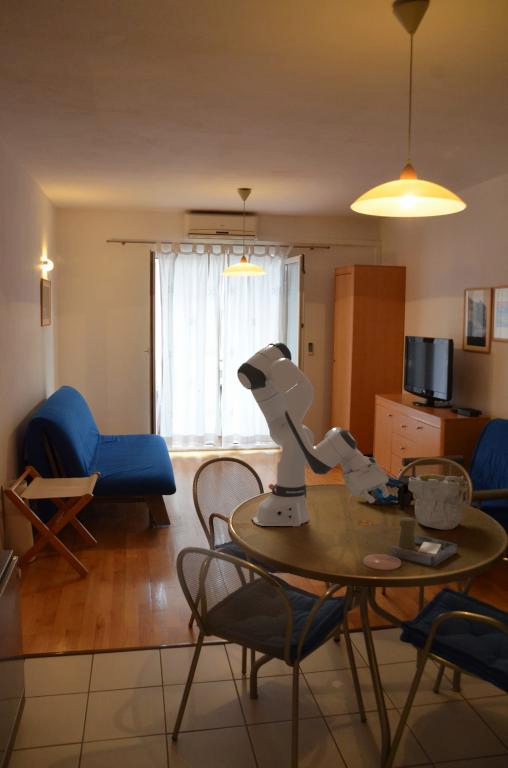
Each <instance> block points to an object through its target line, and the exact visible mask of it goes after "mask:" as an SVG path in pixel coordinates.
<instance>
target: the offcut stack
mask: <svg viewBox="0 0 508 768" xmlns="http://www.w3.org/2000/svg"><path fill="white" fill-rule="evenodd" d="M440 551H442V550H441V544H435V543H428V542H423V544H422V545H420V547H419V549H418V550H417V552H418V553H422V554H426V555H430V556H434V555H435V554H437V553H439V552H440Z"/></svg>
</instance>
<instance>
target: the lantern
mask: <svg viewBox="0 0 508 768" xmlns="http://www.w3.org/2000/svg"><path fill="white" fill-rule="evenodd" d="M387 477H388V480H389V481H388V482H387V483H386V484H385V485H386V488H388V487H389V488H390V489H394V488H398V490H397V492H396V493H397V495H395V494H394V495H393V494H392V493H389V496H388V497H386V498H384V496H383V495H382V490H380V489H379V487H378V488H376V489H373V490H370V491H368V494H369V495H370V496H373V497H374V499H375V501H374V502H373V503H369V505H370V506H374V505H375V506H382V508H385V506H388V505H390V506H395V505H399V507H400V508H401V510H404V509H405V508H407V507H409V506H411V504H412V502H413V501H415V498H414V493H413V492H411V491H410V490H409V489H408V486H409V481H406V482H403V481H401V480H398V479H397V478H394V477H391V476H390V475H387ZM400 484H401V485H400ZM359 495H361V494H359ZM359 495H358V496H359Z"/></svg>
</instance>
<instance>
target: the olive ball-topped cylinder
mask: <svg viewBox="0 0 508 768" xmlns="http://www.w3.org/2000/svg"><path fill="white" fill-rule="evenodd" d="M399 526H400V527H401V529H400V534H399V539H398V546H397V547H399V548H403V549H407V550H411V551H415V552H417V548H416V543H415V537H414V534H415V531H414V528H415V527H416V521H415V519H414V518H412V517H401V518H400V521H399Z"/></svg>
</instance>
